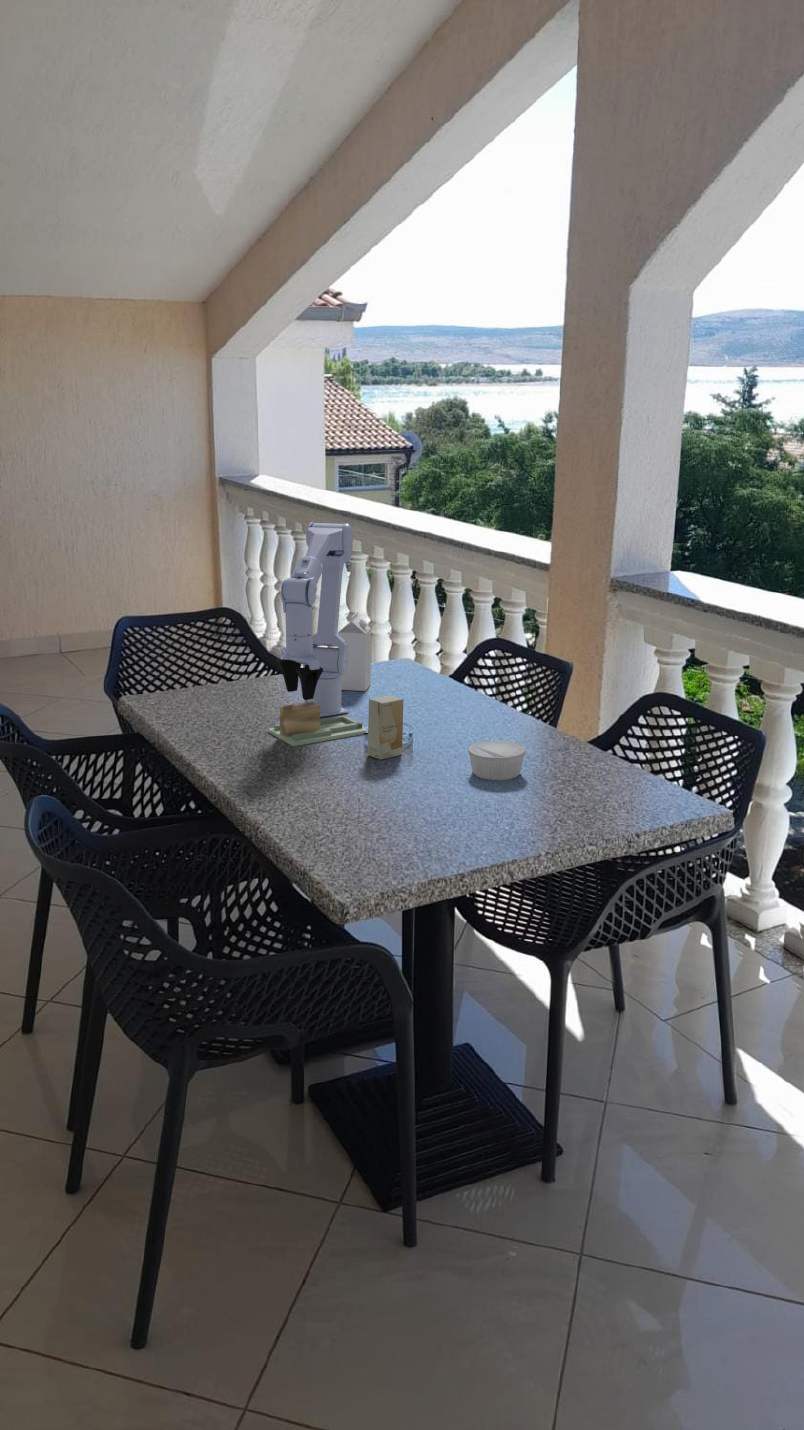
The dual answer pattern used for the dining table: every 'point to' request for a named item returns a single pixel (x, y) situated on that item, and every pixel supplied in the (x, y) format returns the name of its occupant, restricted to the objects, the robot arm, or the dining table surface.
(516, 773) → the ramekin
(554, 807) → the dining table surface
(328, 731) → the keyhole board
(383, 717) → the skincare box
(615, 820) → the dining table surface
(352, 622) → the milk carton
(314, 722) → the panel block
